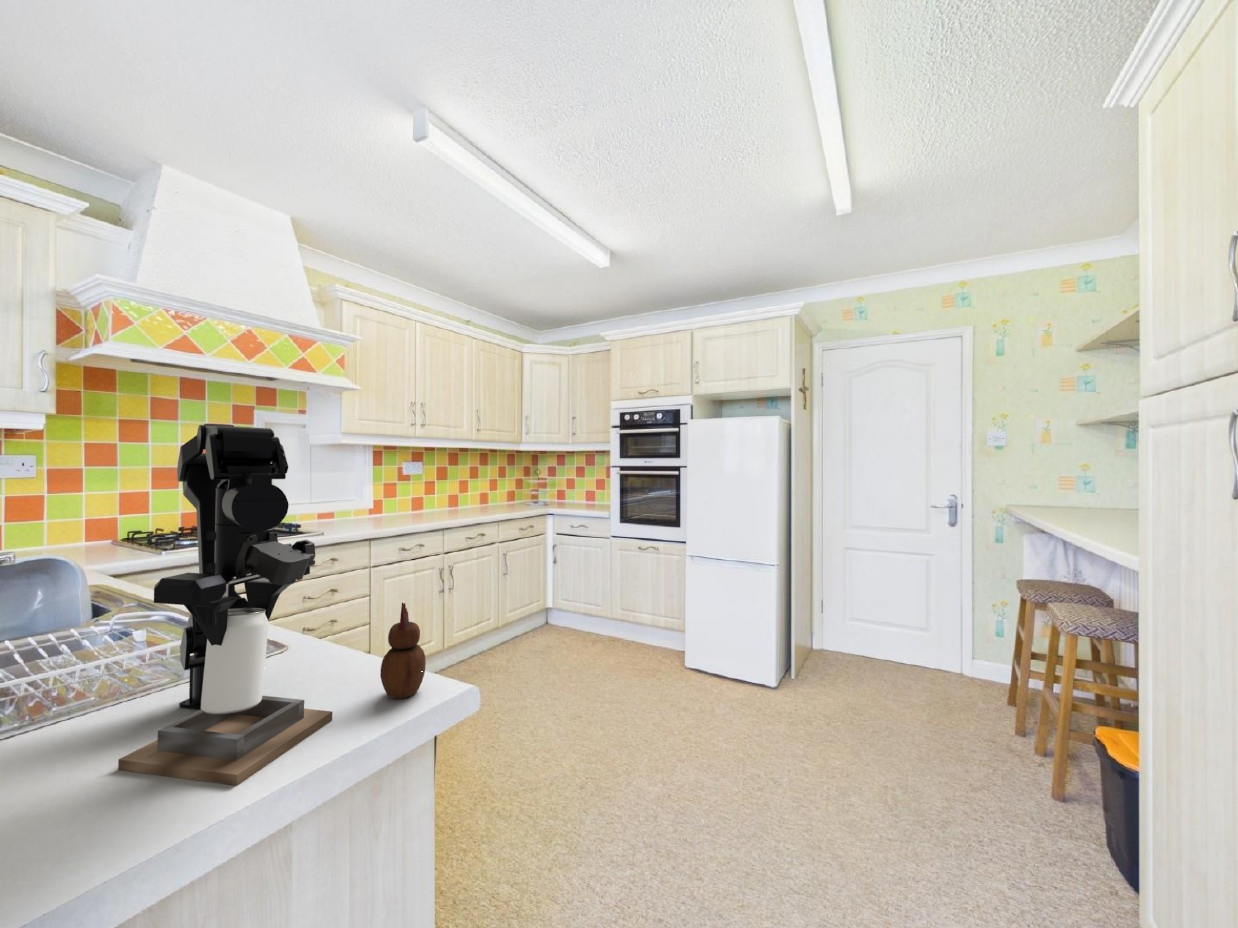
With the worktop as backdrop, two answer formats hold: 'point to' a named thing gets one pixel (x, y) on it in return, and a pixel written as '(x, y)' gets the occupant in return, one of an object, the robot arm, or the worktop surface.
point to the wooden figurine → (403, 659)
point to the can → (236, 664)
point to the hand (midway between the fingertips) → (239, 642)
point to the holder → (227, 742)
